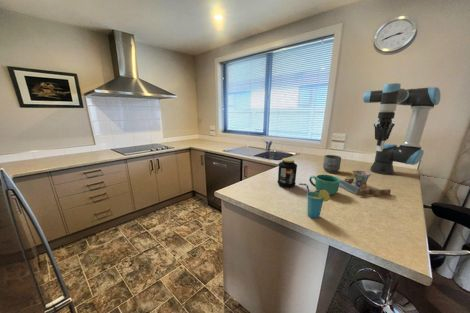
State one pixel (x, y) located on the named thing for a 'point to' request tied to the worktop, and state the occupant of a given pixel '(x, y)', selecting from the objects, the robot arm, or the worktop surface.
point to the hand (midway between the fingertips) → (379, 150)
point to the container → (287, 172)
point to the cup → (315, 202)
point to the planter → (331, 163)
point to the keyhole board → (367, 192)
